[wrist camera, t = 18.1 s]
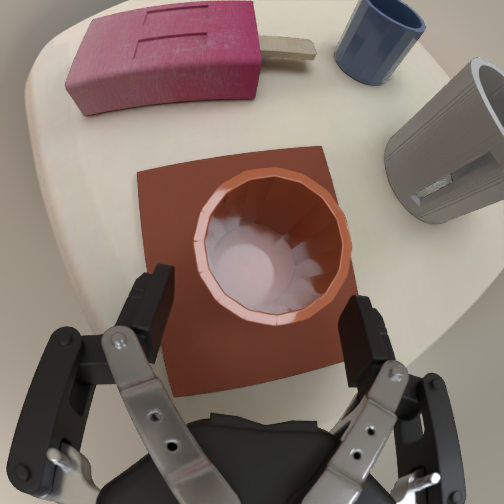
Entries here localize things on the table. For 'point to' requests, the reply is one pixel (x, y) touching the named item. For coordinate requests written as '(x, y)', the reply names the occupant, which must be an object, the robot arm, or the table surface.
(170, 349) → the clay mat
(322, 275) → the terracotta tumbler
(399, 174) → the cup
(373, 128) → the table surface
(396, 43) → the blue tumbler
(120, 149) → the table surface
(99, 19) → the popsicle
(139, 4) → the table surface
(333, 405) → the table surface
